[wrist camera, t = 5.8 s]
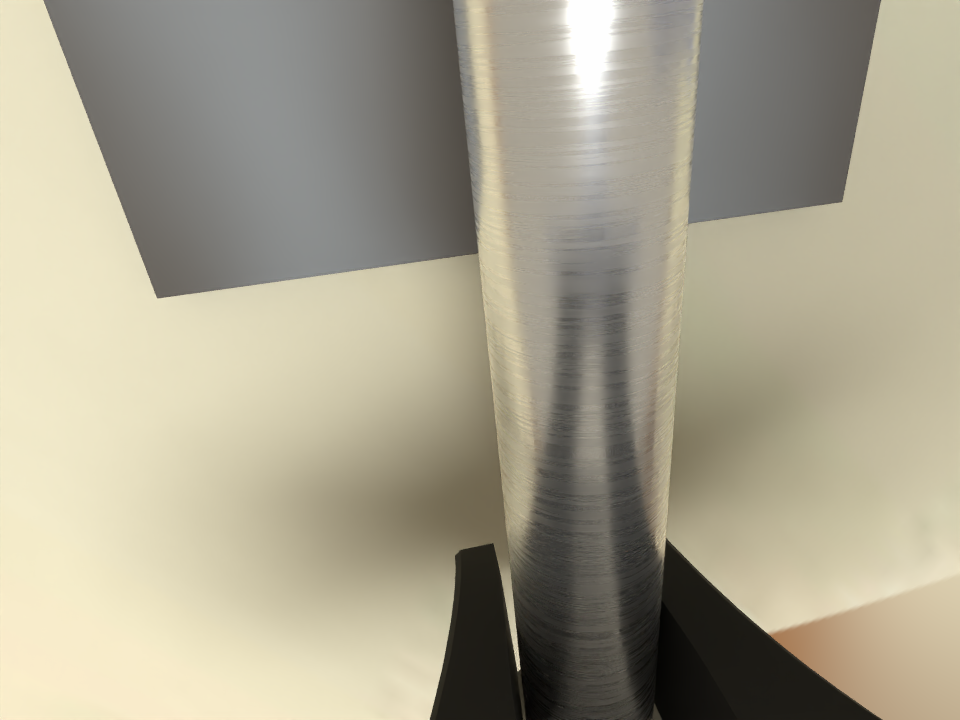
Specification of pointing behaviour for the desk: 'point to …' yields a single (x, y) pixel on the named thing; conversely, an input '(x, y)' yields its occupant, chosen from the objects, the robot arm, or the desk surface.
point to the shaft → (583, 321)
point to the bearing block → (403, 125)
